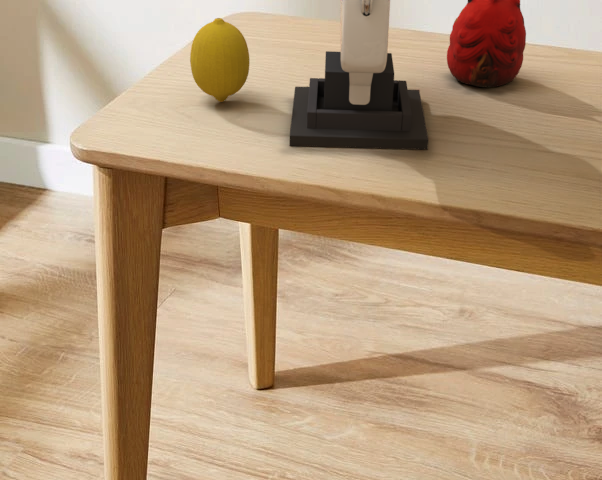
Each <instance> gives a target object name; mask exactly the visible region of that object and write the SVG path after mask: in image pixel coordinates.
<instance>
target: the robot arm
mask: <svg viewBox="0 0 602 480" xmlns="http://www.w3.org/2000/svg"><path fill="white" fill-rule="evenodd" d="M339 1H340V5H339V6H340V10H339V11H340V12H339V13H340V18H339V19H340V25H339V27H340V52H341V67H342V69H343V70H344V71H345V72H349V82H350V85H349V101H350V103H352V104H356V105H366V104H368V103H369V101H370V89H371V82H372V77H373V73H381V72H383V71H384V70H385V67H386V62H387V53H389V52H388V49H389V31H390V15H391V14H390V12H391V0H339Z"/></svg>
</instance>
